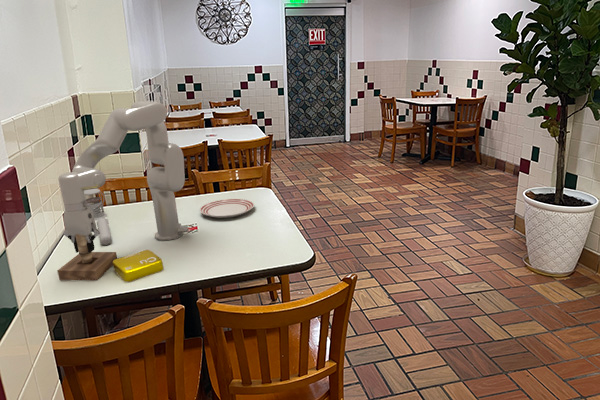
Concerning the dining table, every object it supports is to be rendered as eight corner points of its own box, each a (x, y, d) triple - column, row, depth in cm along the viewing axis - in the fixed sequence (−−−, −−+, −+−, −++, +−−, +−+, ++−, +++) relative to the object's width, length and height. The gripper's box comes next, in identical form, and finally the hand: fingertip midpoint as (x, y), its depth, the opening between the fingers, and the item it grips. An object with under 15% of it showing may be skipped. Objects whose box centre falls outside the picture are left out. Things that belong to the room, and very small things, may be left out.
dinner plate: (206, 204, 251) (206, 198, 250) (257, 202, 249) (257, 196, 248) (194, 223, 225) (193, 216, 224) (250, 221, 223) (250, 214, 222)
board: (117, 261, 188) (116, 251, 187) (97, 280, 173) (95, 270, 172) (83, 260, 190) (81, 252, 188) (59, 280, 175) (57, 270, 173)
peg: (95, 258, 182) (89, 229, 178) (89, 263, 177) (83, 234, 174) (85, 258, 182) (78, 229, 178) (78, 263, 178) (72, 234, 174)
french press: (82, 219, 237) (71, 172, 229) (98, 212, 247) (88, 166, 239) (97, 221, 233) (87, 173, 225) (113, 213, 244) (104, 166, 236)
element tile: (150, 258, 190) (148, 247, 188) (165, 270, 179) (163, 259, 177) (112, 270, 181) (110, 259, 180) (126, 284, 170) (124, 272, 168)
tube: (113, 236, 203) (109, 218, 225) (100, 235, 201) (97, 217, 222) (111, 247, 204) (107, 228, 226) (98, 246, 202) (95, 227, 223)
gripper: (102, 202, 175) (110, 247, 181) (60, 202, 177) (70, 247, 183) (91, 209, 168) (101, 255, 174) (48, 209, 170) (58, 255, 176)
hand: (85, 250), depth 178 cm, fingers closed on peg, 4 cm apart
